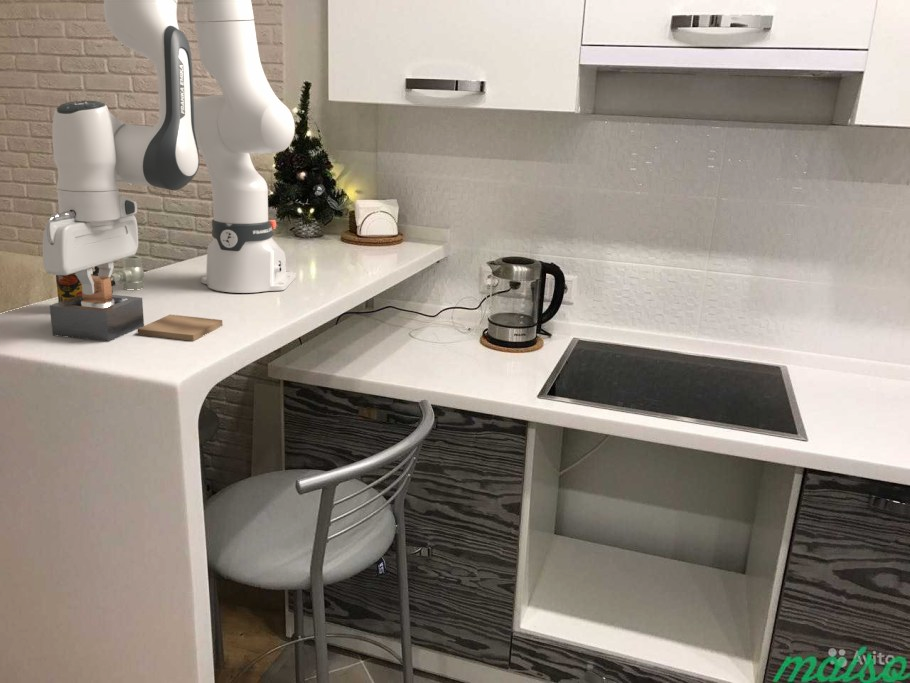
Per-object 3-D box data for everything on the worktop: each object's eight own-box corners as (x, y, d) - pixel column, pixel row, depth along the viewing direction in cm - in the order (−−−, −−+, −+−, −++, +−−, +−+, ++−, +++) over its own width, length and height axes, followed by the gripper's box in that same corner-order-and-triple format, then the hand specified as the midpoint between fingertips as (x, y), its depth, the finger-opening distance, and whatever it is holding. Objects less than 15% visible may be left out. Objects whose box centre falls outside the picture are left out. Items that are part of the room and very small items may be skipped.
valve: (127, 285, 158) (85, 297, 147) (125, 254, 156) (82, 263, 145) (154, 288, 156) (113, 301, 145) (152, 257, 154) (110, 267, 143)
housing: (91, 319, 132) (89, 292, 130) (144, 325, 130) (142, 297, 129) (52, 335, 122) (49, 305, 121) (108, 341, 121) (105, 311, 119)
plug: (95, 324, 129) (91, 273, 126) (122, 327, 128) (118, 275, 126) (77, 332, 124) (72, 279, 122) (104, 335, 124) (100, 281, 121)
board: (170, 319, 135) (170, 314, 134) (222, 325, 133) (222, 320, 133) (137, 334, 125) (137, 328, 125) (193, 341, 124) (193, 335, 123)
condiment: (58, 315, 133) (51, 248, 130) (53, 304, 140) (47, 240, 137) (103, 312, 137) (97, 247, 134) (96, 301, 144) (91, 239, 141)
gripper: (65, 216, 110) (74, 308, 114) (142, 202, 130) (148, 280, 134) (26, 213, 111) (36, 304, 115) (109, 199, 130) (115, 277, 134)
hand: (96, 291), depth 124 cm, fingers closed on plug
